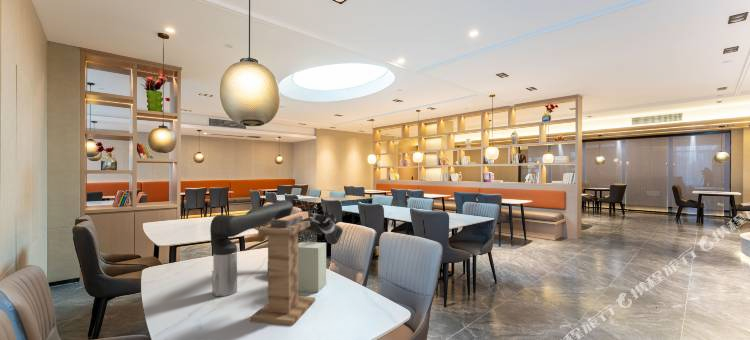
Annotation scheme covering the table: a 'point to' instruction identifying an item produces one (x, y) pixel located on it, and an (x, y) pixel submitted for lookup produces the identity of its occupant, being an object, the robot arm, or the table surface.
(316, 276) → the pedestal
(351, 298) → the table surface
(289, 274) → the stand
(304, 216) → the block
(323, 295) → the table surface
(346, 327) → the table surface
